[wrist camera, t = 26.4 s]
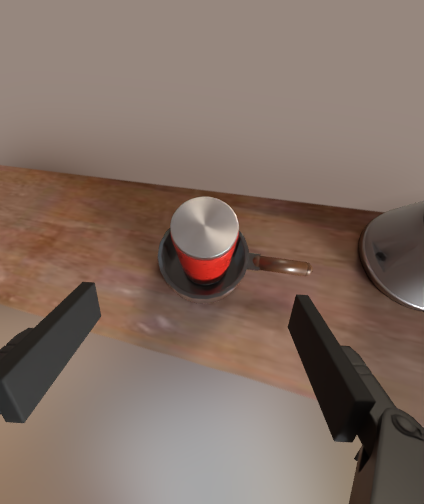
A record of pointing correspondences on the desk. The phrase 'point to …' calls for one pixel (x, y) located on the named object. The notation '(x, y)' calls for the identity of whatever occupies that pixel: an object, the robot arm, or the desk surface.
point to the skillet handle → (278, 265)
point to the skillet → (195, 291)
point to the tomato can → (204, 238)
